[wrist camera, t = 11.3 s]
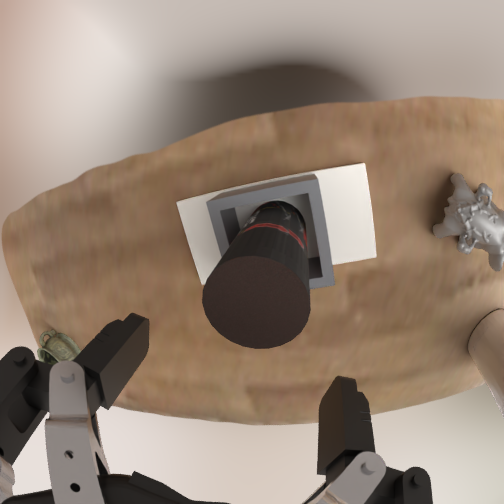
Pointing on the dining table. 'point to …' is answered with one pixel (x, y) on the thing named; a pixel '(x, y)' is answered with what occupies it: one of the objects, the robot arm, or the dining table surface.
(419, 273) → the dining table surface
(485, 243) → the gray elephant figurine
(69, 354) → the vessel
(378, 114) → the dining table surface
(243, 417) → the dining table surface
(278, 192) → the socket stand
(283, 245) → the deodorant
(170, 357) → the dining table surface
